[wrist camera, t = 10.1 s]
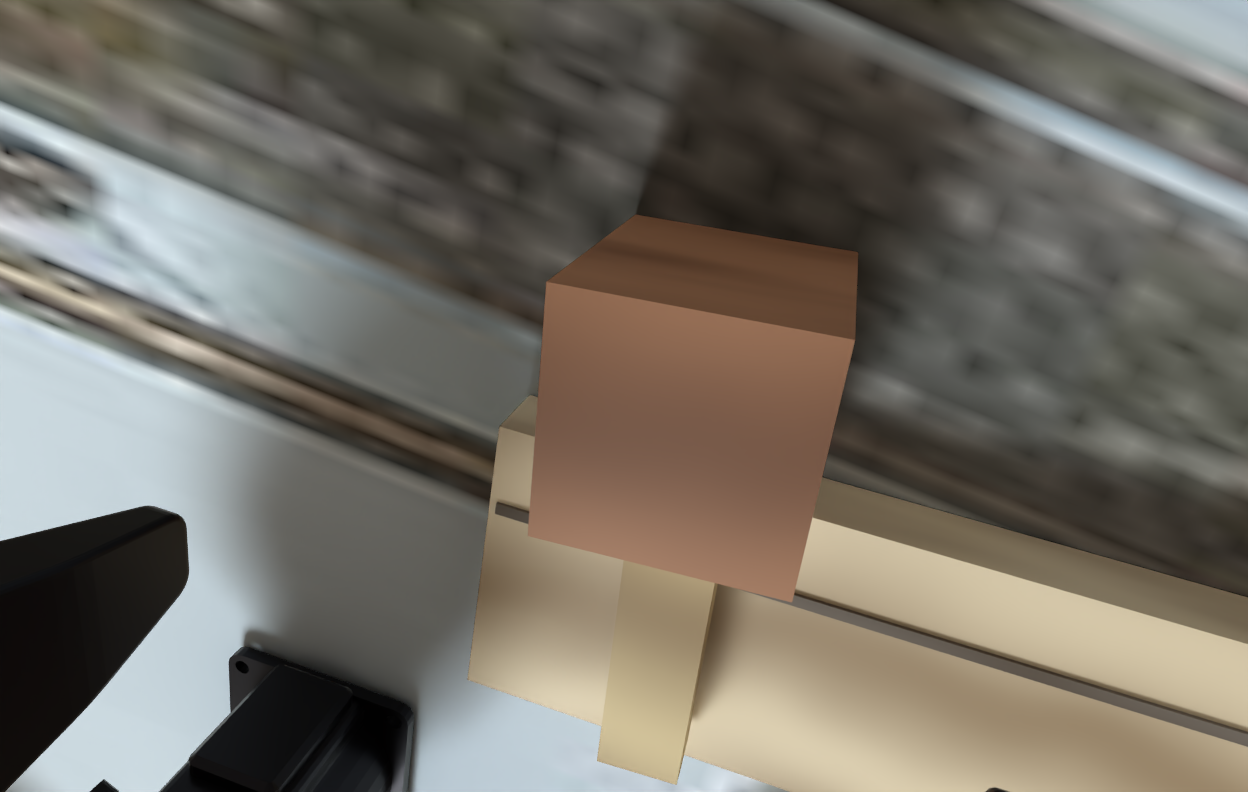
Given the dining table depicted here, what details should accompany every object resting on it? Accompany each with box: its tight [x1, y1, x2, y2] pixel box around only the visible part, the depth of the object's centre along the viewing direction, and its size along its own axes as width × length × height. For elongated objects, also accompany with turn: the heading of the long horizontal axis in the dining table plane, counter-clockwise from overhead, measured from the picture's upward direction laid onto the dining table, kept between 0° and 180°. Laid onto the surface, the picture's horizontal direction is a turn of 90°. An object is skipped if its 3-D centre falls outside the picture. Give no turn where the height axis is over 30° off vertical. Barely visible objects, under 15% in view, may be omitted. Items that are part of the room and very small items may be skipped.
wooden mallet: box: [528, 215, 858, 785], centre depth 19 cm, size 12×5×6 cm, turn 173°
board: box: [467, 395, 1248, 792], centre depth 20 cm, size 8×25×2 cm, turn 80°
